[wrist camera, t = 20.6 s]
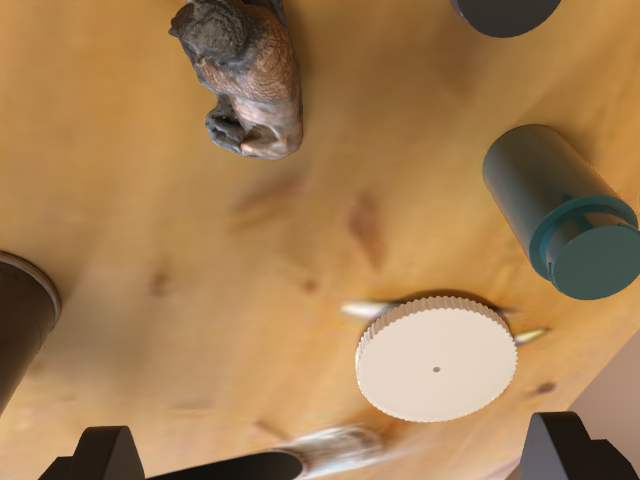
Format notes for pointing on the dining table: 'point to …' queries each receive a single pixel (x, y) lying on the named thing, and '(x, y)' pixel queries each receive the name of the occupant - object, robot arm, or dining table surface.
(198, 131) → the dining table surface
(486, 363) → the plastic lid
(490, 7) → the jar lid
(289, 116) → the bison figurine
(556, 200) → the jar
